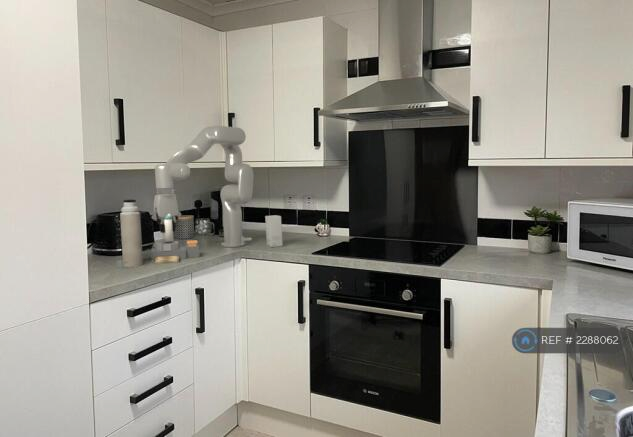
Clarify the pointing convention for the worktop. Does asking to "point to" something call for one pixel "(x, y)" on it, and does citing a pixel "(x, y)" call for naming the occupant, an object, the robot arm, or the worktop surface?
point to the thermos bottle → (131, 234)
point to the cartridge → (168, 229)
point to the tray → (167, 259)
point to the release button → (192, 243)
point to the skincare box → (273, 231)
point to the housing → (174, 250)
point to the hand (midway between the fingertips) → (167, 231)
